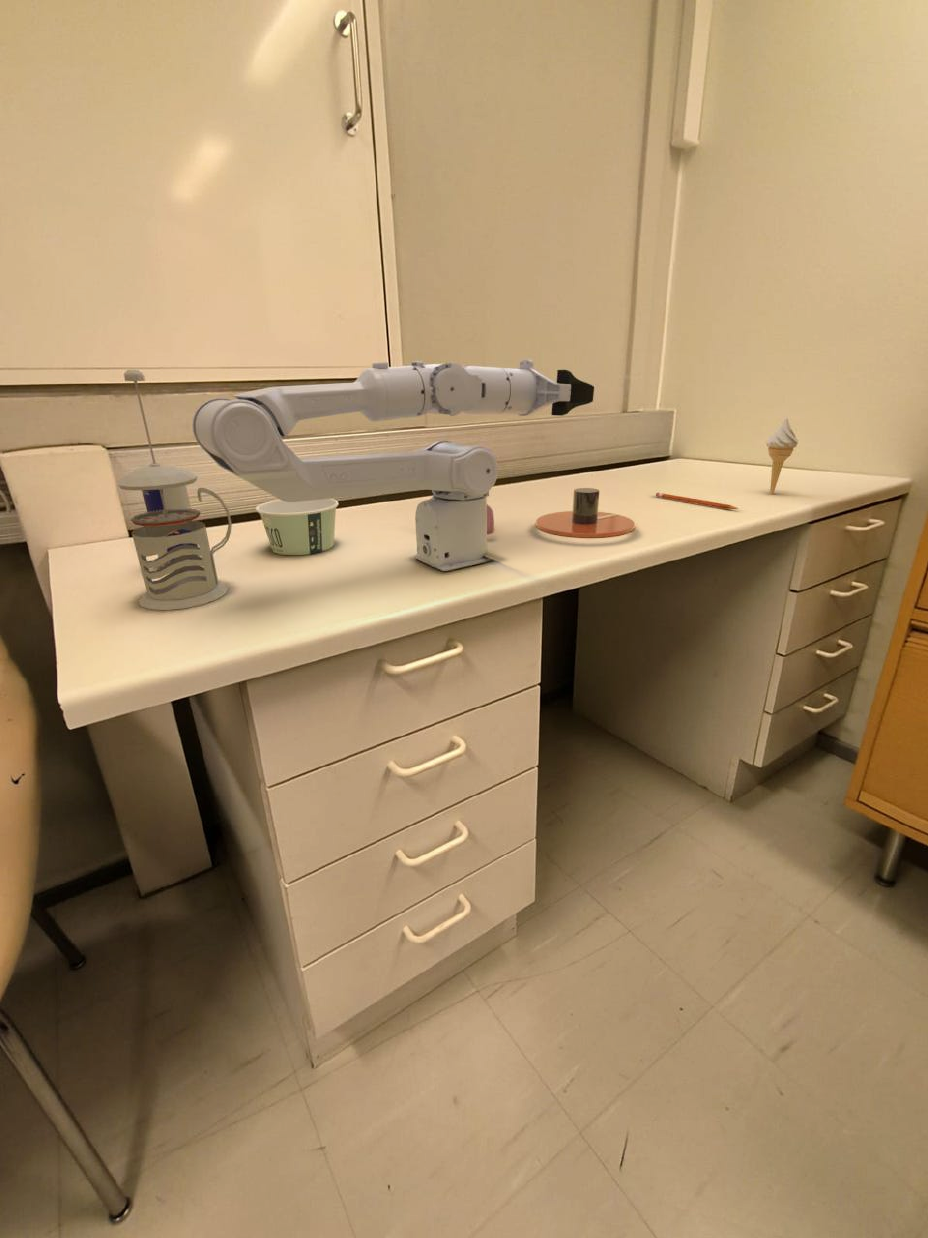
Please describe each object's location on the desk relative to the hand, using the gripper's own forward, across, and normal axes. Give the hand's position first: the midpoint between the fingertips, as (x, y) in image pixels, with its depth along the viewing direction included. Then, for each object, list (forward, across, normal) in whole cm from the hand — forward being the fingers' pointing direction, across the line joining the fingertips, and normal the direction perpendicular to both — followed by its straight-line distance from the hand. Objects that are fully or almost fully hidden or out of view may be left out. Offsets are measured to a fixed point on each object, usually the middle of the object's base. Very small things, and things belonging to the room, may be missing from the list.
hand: (572, 393), depth 81 cm
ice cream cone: (+57, -2, +18) cm, 60 cm away
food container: (-35, +20, +23) cm, 46 cm away
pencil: (+37, +2, +19) cm, 42 cm away
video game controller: (-12, +10, +22) cm, 27 cm away
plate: (+5, 0, +20) cm, 20 cm away
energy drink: (-52, +22, +24) cm, 61 cm away
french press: (-53, +8, +24) cm, 58 cm away
